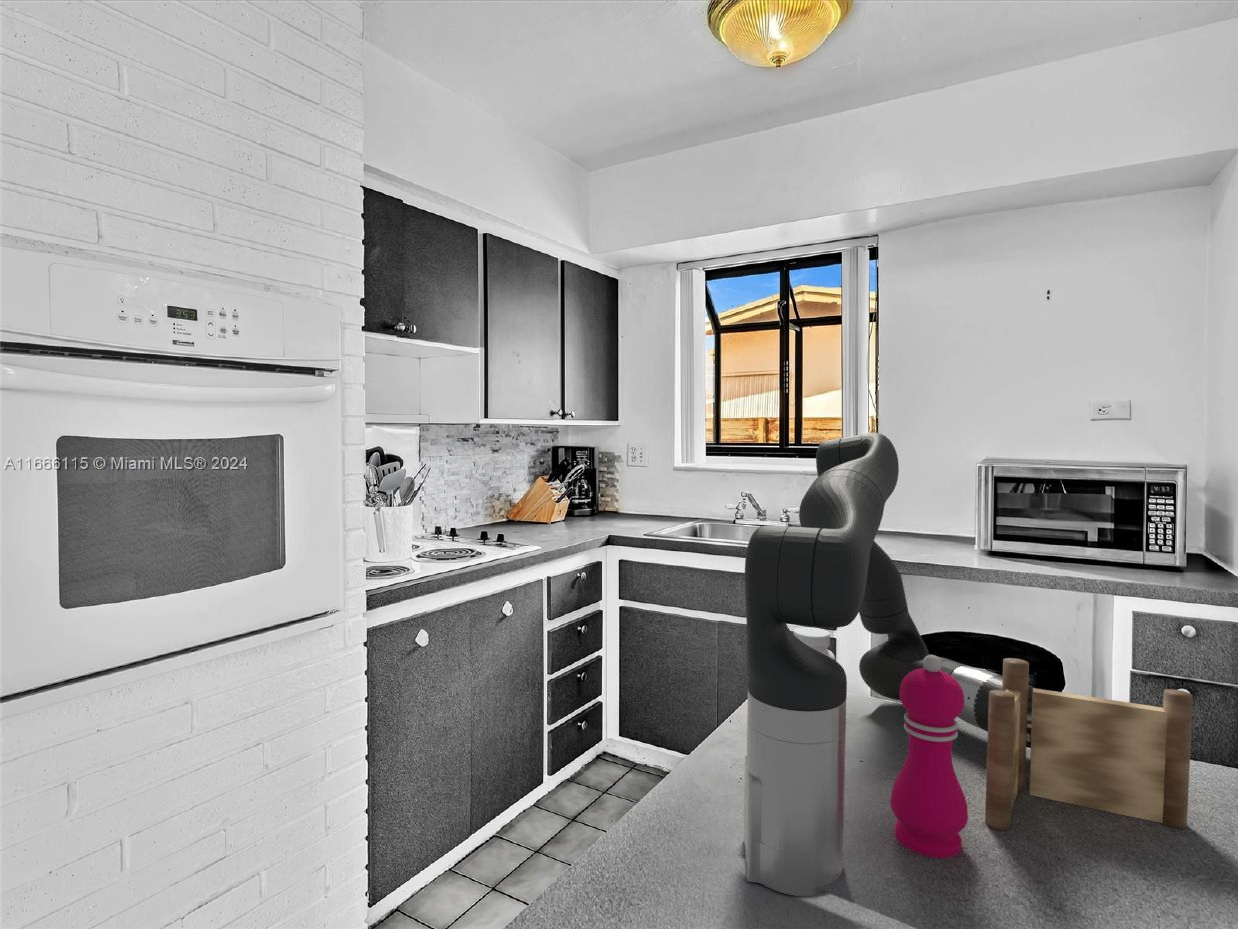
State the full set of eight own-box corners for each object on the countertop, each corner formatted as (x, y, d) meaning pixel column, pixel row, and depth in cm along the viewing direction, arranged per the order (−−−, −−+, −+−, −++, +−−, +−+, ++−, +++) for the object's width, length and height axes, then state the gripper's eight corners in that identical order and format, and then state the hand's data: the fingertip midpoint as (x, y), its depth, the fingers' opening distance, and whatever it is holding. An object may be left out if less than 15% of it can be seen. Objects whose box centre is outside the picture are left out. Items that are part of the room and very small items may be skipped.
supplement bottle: (811, 730, 101) (813, 641, 100) (774, 713, 107) (776, 629, 106) (844, 719, 105) (846, 633, 104) (807, 704, 111) (809, 622, 110)
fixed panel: (1001, 781, 85) (1005, 656, 84) (1026, 787, 83) (1030, 661, 82) (982, 825, 75) (986, 685, 74) (1009, 833, 73) (1014, 691, 73)
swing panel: (1030, 797, 81) (1034, 676, 80) (1029, 787, 83) (1033, 669, 82) (1189, 831, 74) (1195, 699, 73) (1184, 820, 76) (1189, 691, 76)
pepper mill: (975, 875, 68) (982, 669, 67) (896, 865, 70) (901, 664, 69) (956, 833, 75) (961, 647, 74) (884, 825, 77) (888, 642, 76)
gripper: (957, 681, 91) (1097, 734, 75) (1025, 667, 97) (1168, 713, 81) (955, 739, 91) (1094, 803, 76) (1023, 721, 97) (1165, 778, 81)
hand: (1132, 757), depth 78 cm, fingers closed
